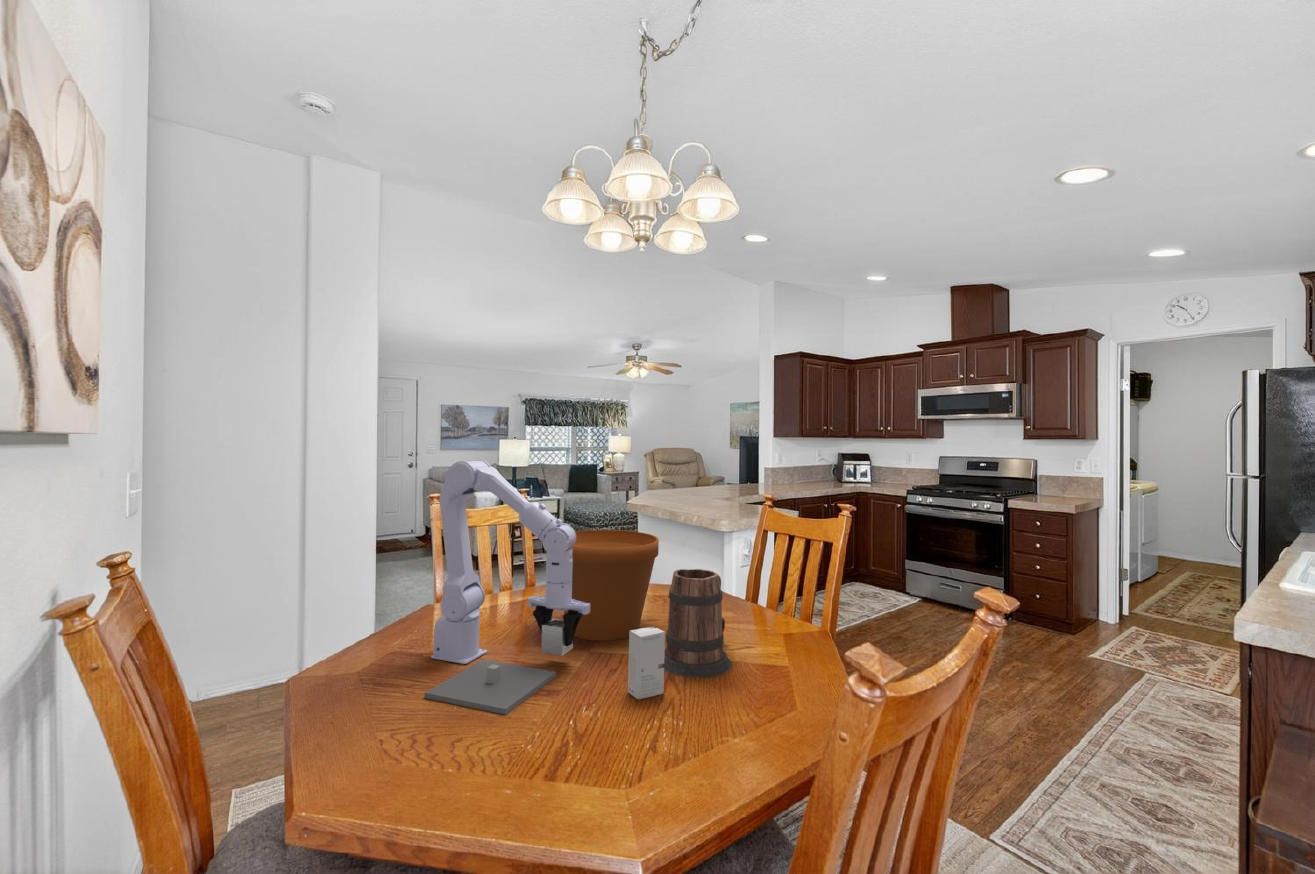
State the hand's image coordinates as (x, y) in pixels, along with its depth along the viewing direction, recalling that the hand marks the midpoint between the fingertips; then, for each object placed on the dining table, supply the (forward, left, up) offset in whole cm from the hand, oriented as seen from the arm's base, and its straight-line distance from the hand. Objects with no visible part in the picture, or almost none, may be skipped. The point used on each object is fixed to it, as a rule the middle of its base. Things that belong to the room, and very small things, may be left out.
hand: (557, 642), depth 129 cm
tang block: (-6, -15, -5) cm, 17 cm away
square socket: (0, 0, -2) cm, 2 cm away
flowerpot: (-1, +26, -5) cm, 26 cm away
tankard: (+28, +16, -5) cm, 33 cm away
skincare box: (+23, -6, -5) cm, 24 cm away
